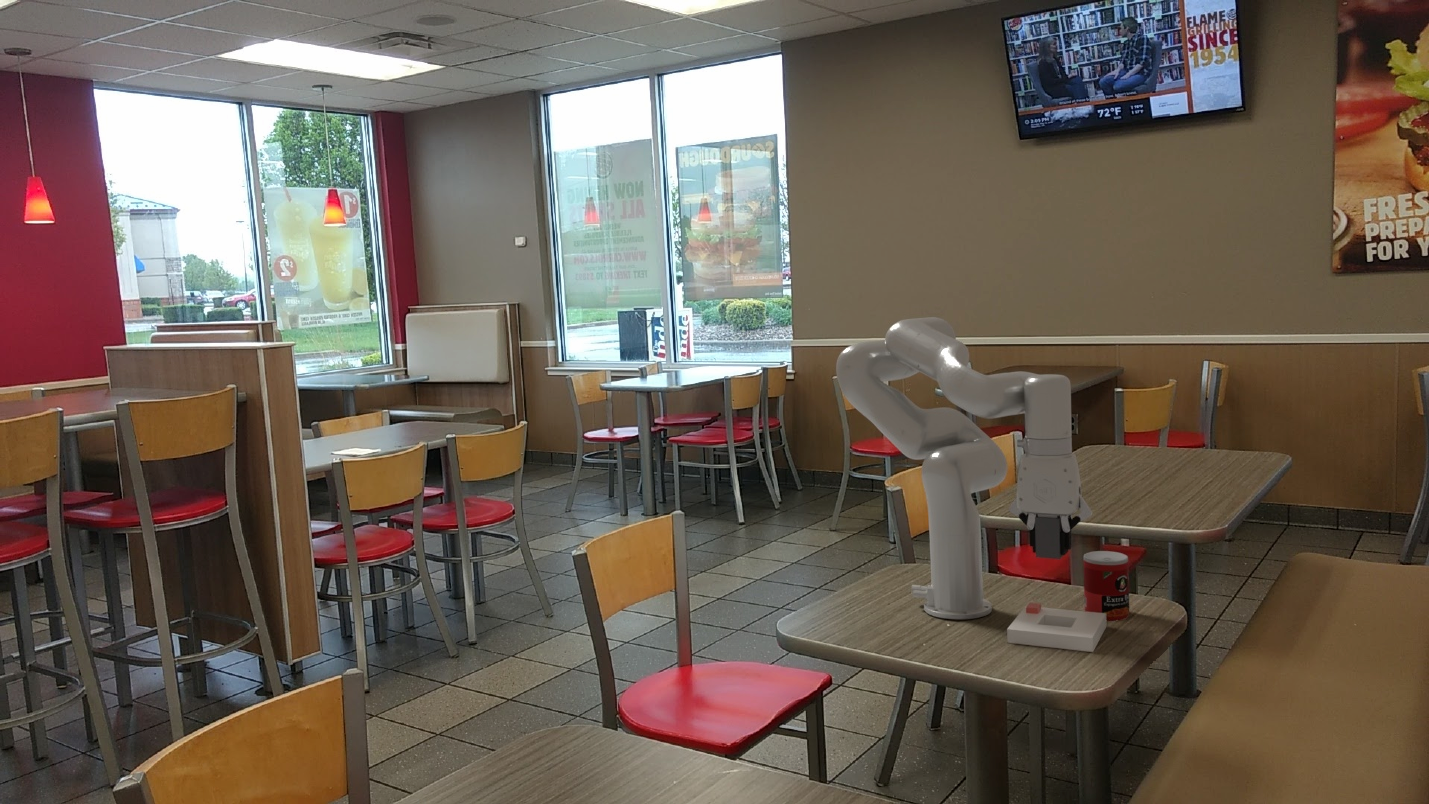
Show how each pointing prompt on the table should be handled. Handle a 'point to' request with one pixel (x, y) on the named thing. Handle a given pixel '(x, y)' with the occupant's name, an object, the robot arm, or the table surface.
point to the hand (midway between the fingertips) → (1050, 550)
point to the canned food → (1106, 584)
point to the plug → (1048, 536)
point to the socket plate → (1057, 628)
